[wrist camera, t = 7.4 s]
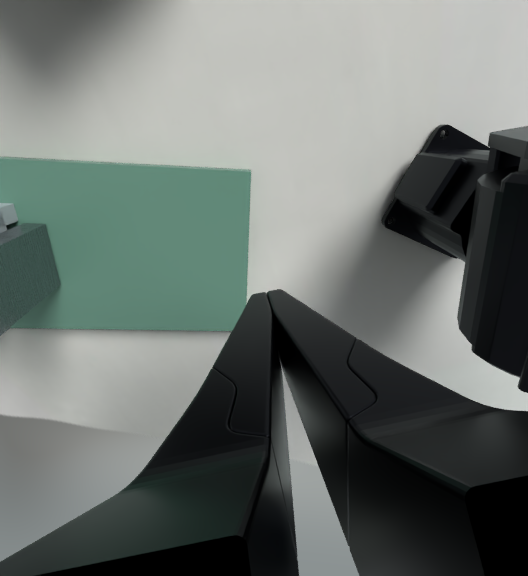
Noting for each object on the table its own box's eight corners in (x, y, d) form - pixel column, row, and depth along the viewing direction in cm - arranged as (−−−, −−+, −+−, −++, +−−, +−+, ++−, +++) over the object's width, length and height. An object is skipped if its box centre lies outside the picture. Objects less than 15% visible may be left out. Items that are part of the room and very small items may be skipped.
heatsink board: (250, 169, 19) (253, 184, 14) (245, 323, 24) (245, 377, 19) (-149, 148, 17) (-315, 156, 12) (-68, 318, 22) (-162, 375, 17)
